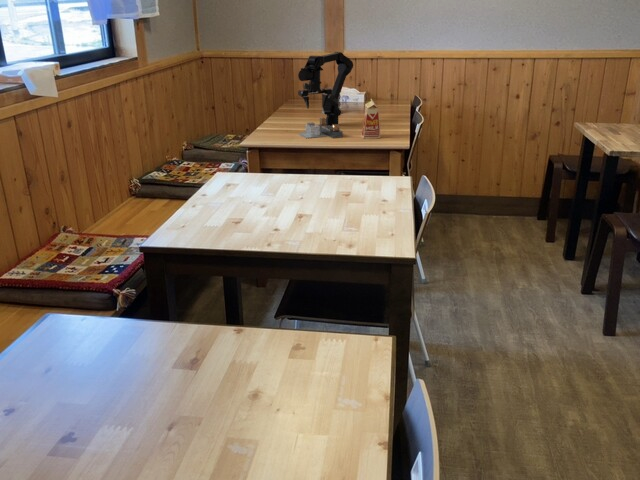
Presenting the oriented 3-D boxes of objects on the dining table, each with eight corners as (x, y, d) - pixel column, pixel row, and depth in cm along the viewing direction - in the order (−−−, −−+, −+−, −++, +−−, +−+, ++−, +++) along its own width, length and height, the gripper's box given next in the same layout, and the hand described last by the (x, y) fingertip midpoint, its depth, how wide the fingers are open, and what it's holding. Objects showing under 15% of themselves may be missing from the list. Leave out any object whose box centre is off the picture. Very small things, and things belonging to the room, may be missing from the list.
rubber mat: (318, 132, 322) (318, 131, 322) (326, 136, 312) (326, 135, 312) (298, 134, 318) (298, 133, 318) (306, 138, 308) (306, 137, 308)
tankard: (341, 114, 370) (341, 90, 364) (321, 114, 370) (321, 90, 364) (340, 109, 388) (341, 86, 383) (322, 109, 389) (322, 86, 383)
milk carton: (361, 135, 315) (361, 98, 307) (377, 135, 315) (379, 97, 308) (363, 139, 306) (364, 100, 298) (380, 138, 307) (382, 100, 299)
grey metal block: (305, 133, 317) (305, 122, 315) (313, 132, 319) (313, 122, 317) (311, 136, 311) (311, 125, 308) (319, 135, 312) (319, 124, 310)
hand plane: (316, 130, 327) (316, 117, 324) (325, 129, 329) (325, 117, 326) (332, 138, 308) (332, 125, 306) (342, 137, 311) (342, 124, 308)
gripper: (324, 76, 329) (324, 104, 335) (294, 78, 322) (294, 106, 328) (332, 79, 320) (332, 107, 326) (301, 81, 313) (302, 110, 319)
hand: (315, 107), depth 325 cm, fingers open, 9 cm apart
